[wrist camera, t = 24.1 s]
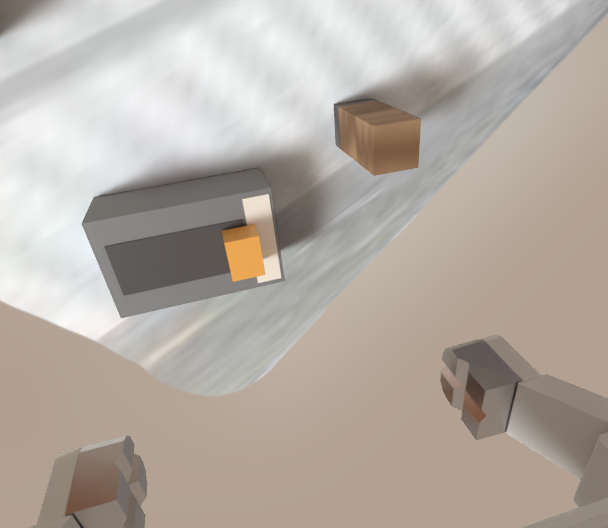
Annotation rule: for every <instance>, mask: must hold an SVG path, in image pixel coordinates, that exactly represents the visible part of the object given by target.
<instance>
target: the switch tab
mask: <svg viewBox="0 0 608 528" xmlns="http://www.w3.org/2000/svg"><path fill="white" fill-rule="evenodd" d="M222 235H223V240H224V245H225V249H226V254H227V258H228V262H229V267H230V271H231V276H232V280H233V282H235V281H240V280H244V279H249V278H253V277H257V276H262V275H266V274H265V268H264V263H263V257H262V251H261V246H260V240H259V235H258V232H257V230H256V227H255V225H254V224H252V225H247V226H242V227H237V228H233V229H228V230H223V231H222Z"/></svg>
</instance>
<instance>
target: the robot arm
mask: <svg viewBox="0 0 608 528" xmlns="http://www.w3.org/2000/svg"><path fill="white" fill-rule="evenodd" d="M442 360H443V362H445V364H446V366H445V367H444V368H443V370H442V371H441V380H440V381H441V385H442V389H443V392H444V394H445V396H446V398H447V400H448V401H449V403H450V404H451V405H452V406H453V407H455V408H457V409H459V410H461V411H462V417H461V420H462V421H463V422H464V424H465V425H466V427H467V428H468V429H469V431H470V432H471V433H472V435H473V436H474V438H475V439H476V440H478V439H482V438H486V437H489V436H493V435H496V434H500V433H504V432H507V434H508V435H510V436H511V437H513V438H515V439H516V440H518V441H519V442H521V443H522V444H524V445H526V446H527V447H529V448H530V449H532V450H534V451H536V452H537V453H539V454H540V455H542V456H543V457H545V458H547V459H548V460H550V461H552V462H553V463H555V464H556V465H558V466H560V467H561V468H563V469H564V470H566V471H568V472H569V473H571V474H572V475H574V476H576V477H577V478H579V479H580V480H581V481H580V483H579V486H578V488H577V491H576V493H575V496H574V502H575V503H576V504H577V506H578V507H579V508H576V509H573V510H571V511H568V512H565V513H562V514H560V515H557V516H554V517H551V518H548V519H546V520H543V521H540V522H537V523H535V524H532V525H529V526H526V527H523V528H608V398H605V397H603V396H601V395H598V394H595V393H593V392H590V391H588V390H585V389H583V388H580V387H577V386H575V385H573V384H570V383H567V382H565V381H563V380H560V379H557V378H555V377H552V376H550V375H547V374H546V375H541V374H540V373H539V372H537V370H535V369H534V368H533V367H532V366H531V365H530V364H529V363H528V362H527V361H526V360H525V359H524V358H523V357H522V356H521V355H520V354H519V353H518V352H517V351H516V350H515V349H514V348H513V347H512V346H511V345H510V344H509V343H508V342H507V341H506V340H504V339H503V338H502V337H501V336H499V335H493V336H489V337H486V338H482V339H479V340H474V341H471V342H467V343H464V344H460V345H457V346H453V347H450V348H446V349H445V350H444V352H443V357H442ZM146 496H147V480H146V471H145V467H144V464H143V461H142V459H141V457H140V456H138V455H136V454H134V443H133V441H132V439H131V437H130V436H124V437H120V438H117V439H112V440H108V441H105V442H100V443H96V444H92V445H88V446H84V447H81V448H77V449H73V450H69V451H65V452H61V453H59V455H58V456H57V458H56V459H55V461H54V464H53V468H52V472H51V475H50V479H49V482H48V486H47V489H46V493H45V497H44V500H43V504H42V508H41V511H40V515H39V518H38V522H37V525H34V526H31V527H29V528H144V526H145V514H144V512H143V510H142V508H141V507H140V506H141V504H142V503H143V501H144V500H145V498H146Z"/></svg>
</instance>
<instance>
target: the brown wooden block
mask: <svg viewBox="0 0 608 528" xmlns="http://www.w3.org/2000/svg"><path fill="white" fill-rule="evenodd" d="M334 117H335V138H336V146H338V147H339V148H340V149H341V150H343V151H344V152H345V153H346V154H348V155H349V156H350V157H351V158H353V159H354V160H355V161H356V162H358V163H359V164H360V165H361V166H363V167H364V168H365V169H366V170H368V171H369V172H370V173H371V174H373V175H380V174H385V173H391V172H396V171H402V170H408V169H413V168H418V161H419V143H420V125H421V119H420V118H417V117H415V116H413V115H410V114H408V113H405V112H403V111H401V110H398V109H396V108H393V107H391V106H389V105H386V104H384V103H381V102H379V101H377V100H374V99H366V100H360V101H353V102H346V103H339V104H334Z"/></svg>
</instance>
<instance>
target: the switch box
mask: <svg viewBox="0 0 608 528" xmlns="http://www.w3.org/2000/svg"><path fill="white" fill-rule="evenodd" d="M252 224H254V225H255V227H256V230H257V232H258V235H259V240H260V246H261V251H262V257H263V263H264V268H265V274H266V275H262V276H257V277H253V278H249V279H244V280H240V281H235V282H233V280H232V276H231V271H230V267H229V262H228V258H227V254H226V249H225V245H224V240H223V235H222V231H223V230H228V229H233V228H237V227H242V226H247V225H252ZM82 226H83V228H84V230H85V233H86V235H87V238H88V240H89V242H90V245H91V247H92V250H93V252H94V254H95V257H96V259H97V262H98V264H99V266H100V269H101V271H102V274H103V276H104V278H105V281H106V283H107V286H108V288H109V290H110V293H111V295H112V298H113V300H114V302H115V305H116V307H117V310H118V312H119V314H120V317H121V318H124V317H129V316H133V315H138V314H142V313H146V312H151V311H155V310H159V309H164V308H168V307H173V306H177V305H181V304H186V303H190V302H195V301H199V300H203V299H208V298H212V297H216V296H221V295H225V294H230V293H234V292H238V291H243V290H247V289H251V288H256V287H260V286H265V285H269V284H273V283H278V282H282V281H285V278H284V272H283V265H282V258H281V251H280V245H279V238H278V231H277V224H276V218H275V211H274V204H273V197H272V191H271V187H270V185H269V183H268V181H267V180H266V178H265V176H264V174H263V172H262V171H261V169H260V168H255V169H250V170H244V171H239V172H233V173H228V174H222V175H216V176H211V177H205V178H200V179H194V180H189V181H183V182H178V183H172V184H167V185H161V186H156V187H150V188H145V189H139V190H133V191H128V192H122V193H117V194H111V195H106V196H100V197H95V198H93V200H92V202H91V204H90V207H89V209H88V211H87V213H86V215H85V217H84V220H83V222H82Z"/></svg>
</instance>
